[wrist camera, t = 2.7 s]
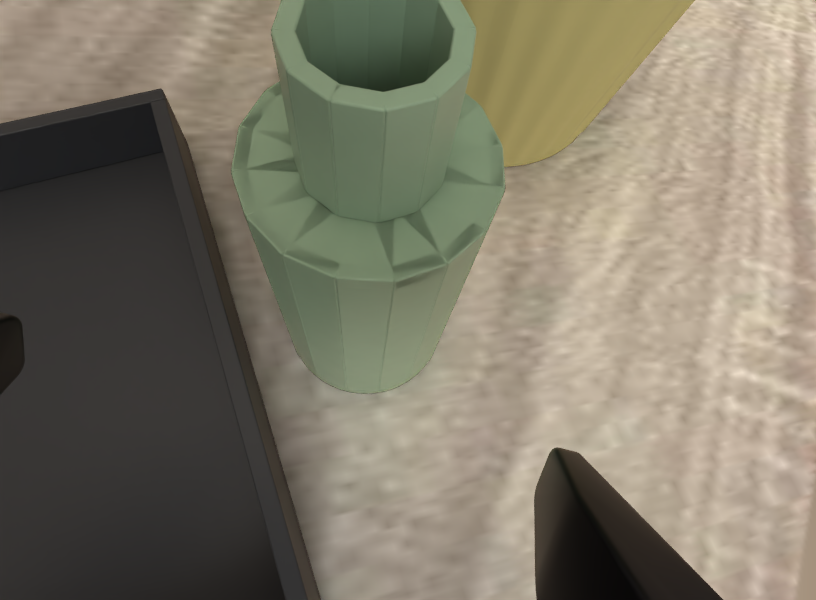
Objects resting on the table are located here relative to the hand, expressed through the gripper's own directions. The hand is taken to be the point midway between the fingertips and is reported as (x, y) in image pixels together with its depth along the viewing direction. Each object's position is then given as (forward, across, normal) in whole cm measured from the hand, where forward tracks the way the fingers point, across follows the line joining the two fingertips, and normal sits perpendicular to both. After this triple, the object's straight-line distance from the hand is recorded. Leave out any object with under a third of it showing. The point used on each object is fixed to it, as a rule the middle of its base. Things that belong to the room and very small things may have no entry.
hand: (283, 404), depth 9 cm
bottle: (+13, 0, +4) cm, 14 cm away
